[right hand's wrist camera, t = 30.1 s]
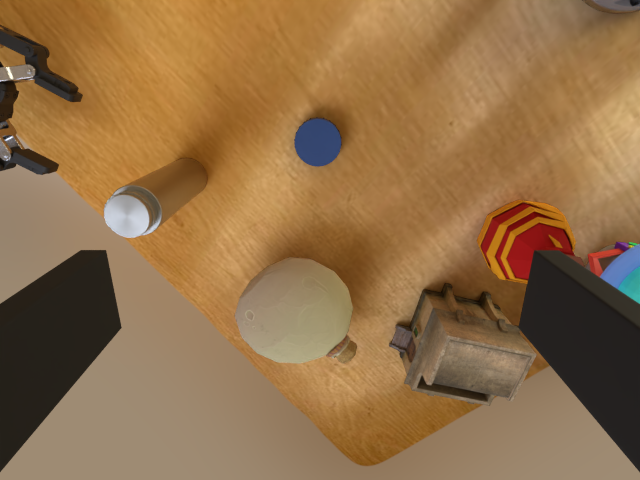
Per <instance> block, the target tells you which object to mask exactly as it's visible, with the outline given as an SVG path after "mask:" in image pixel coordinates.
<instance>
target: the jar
mask: <svg viewBox="0 0 640 480" xmlns="http://www.w3.org/2000/svg"><path fill="white" fill-rule="evenodd" d="M206 183H207V174H206V171H205V169H204V167H203V166H202V165H201V164H200V163H199V162H198V161H196V160H194V159H191V158H182V159H179V160H177V161H175V162H173V163H171V164H168V165H166V166H164V167H162V168H160V169H158V170H156V171H154V172H152V173H150V174H148V175H146V176H144V177H141V178H139V179H137V180H135V181H133V182H131V183H129V184H127V185H125V186H123V187H121V188H119V189H118V190H116V191H115V192H114V194H113V195H112V197H111V198H110V199H108V201H107V203H106V204H105V208H104V218H105V220H106V223H107V225H108V226H109V227H110V228H111V229H112V230H113V231H114V232H115V233H117V234H119V235H121V236H124V237H129V238H133V237H138V236H140V235H146V234H149V233H152V232H153V231H155V230H156V229H157V228H158V227H159V226H161V225H162V224H163V223H164V222H165V221H167V220H168V219H169V218H170V217H171V216H172V215H174V214H175V213H176V212H177V211H178V210H180V209H181V208H182V207H183V206H184V205H186V204H187V203H188V202H189V201H190V200H191V199H193V198H194V197H195V196H196V195H197V194H199V193H200V192H201V191H202V190H203V189H204V188H205V186H206Z"/></svg>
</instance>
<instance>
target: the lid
mask: <svg viewBox="0 0 640 480" xmlns="http://www.w3.org/2000/svg"><path fill="white" fill-rule="evenodd" d="M294 141H295V149H296V152H297V154H298V155H299V157H300V158H301V159H302V160H303V161H304V162H305V163H307V164H309V165H312V166H324V165H327V164H329V163H330V162H332V161H333V160H334V159H335V158H336V157H337V155H338V154H339V152H340V148H341V136H340V134H339V130H338V129H337V128H336V126H335V125H334V124H333V123H332V122H330V120H329V121H328V120H326V119H324V118H317V117H316V118H313V119H311V118H310V120H308V121H306V122H304V123H303V124H302V125H301V126H300V127H299V129H298V131H297V132H296V136H295V140H294Z"/></svg>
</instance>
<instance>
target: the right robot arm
mask: <svg viewBox="0 0 640 480" xmlns="http://www.w3.org/2000/svg"><path fill="white" fill-rule="evenodd" d="M583 1H584V2H585V3H586V4H588V5H589V6H591V7H593V8H595V9H597V10H599V11H603V12H607V13H617V14H618V13H628V12H633V11H637V10H640V0H583ZM120 329H121V323H120V318H119V313H118V308H117V303H116V298H115V293H114V288H113V283H112V278H111V273H110V268H109V263H108V258H107V253H106V250H81V251H79V252H78V253H76V254H75V255H73V256H72V257H70V258H69V259H67V260H66V261H64V262H63V263H61V264H60V265H58V266H57V267H55V268H54V269H52V270H51V271H49V272H47V273H46V274H44V275H43V276H41V277H40V278H38V279H37V280H35V281H34V282H32V283H31V284H29V285H28V286H26V287H25V288H23V289H22V290H20V291H19V292H17V293H16V294H14V295H13V296H11V297H10V298H8V299H7V300H5V301H4V302H2V303H1V304H0V472H1V470H2V469H3V468H4V467H5V466H6V465H7V463H8V462H9V461H10V460H11V459H12V457H13V456H14V455H15V454H16V453H17V451H18V450H19V449H20V448H21V447H22V445H23V444H24V443H25V442H26V441H27V440H28V438H29V437H30V436H31V435H32V434H33V432H34V431H35V430H36V429H37V428H38V426H39V425H40V424H41V423H42V422H43V420H44V419H45V418H46V417H47V416H48V415H49V413H50V412H51V411H52V410H53V409H54V407H55V406H56V405H57V404H58V403H59V401H60V400H61V399H62V398H63V397H64V395H65V394H66V393H67V392H68V391H69V390H70V388H71V387H72V386H73V385H74V384H75V382H76V381H77V380H78V379H79V378H80V376H81V375H82V374H83V373H84V372H85V371H86V369H87V368H88V367H89V366H90V365H91V363H92V362H93V361H94V360H95V359H96V357H97V356H98V355H99V354H100V353H101V351H102V350H103V349H104V348H105V347H106V346H107V344H108V343H109V342H110V341H111V340H112V338H113V337H114V336H115V335H116V334H117V332H118V331H119V330H120ZM519 329H520V330H521V331H522V332H523V334H524V335H525V336H526V337H527V338H528V340H529V341H530V342H531V343H532V344H533V346H534V347H535V348H536V349H537V350H538V351H539V353H540V354H541V355H542V356H543V357H544V359H545V360H546V361H547V362H548V363H549V365H550V366H551V367H552V368H553V369H554V371H555V372H556V373H557V374H558V375H559V376H560V378H561V379H562V380H563V381H564V382H565V384H566V385H567V386H568V387H569V388H570V390H571V391H572V392H573V393H574V394H575V395H576V397H577V398H578V399H579V400H580V401H581V403H582V404H583V405H584V406H585V407H586V409H587V410H588V411H589V412H590V413H591V414H592V416H593V417H594V418H595V419H596V420H597V422H598V423H599V424H600V425H601V426H602V428H603V429H604V430H605V431H606V432H607V434H608V435H609V436H610V437H611V438H612V440H613V441H614V442H615V443H616V444H617V445H618V447H619V448H620V449H621V450H622V451H623V453H624V454H625V455H626V456H627V457H628V458H629V460H630V461H631V462H632V463H633V464H634V466H635V467H636V468H637V469H638V470H639V472H640V304H639V303H638V302H636V301H635V300H633V299H632V298H630V297H629V296H627V295H626V294H624V293H623V292H621V291H620V290H618V289H617V288H615V287H614V286H612V285H611V284H609V283H608V282H606V281H605V280H603V279H602V278H600V277H599V276H597V275H596V274H594V273H593V272H591V271H589V270H588V269H586V268H585V267H583V266H582V265H580V264H579V263H577V262H576V261H574V260H573V259H571V258H570V257H568V256H567V255H565V254H564V253H562V252H561V251H559V250H534V253H533V258H532V263H531V268H530V273H529V278H528V283H527V288H526V293H525V298H524V303H523V308H522V313H521V318H520V323H519Z"/></svg>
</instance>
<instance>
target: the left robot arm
mask: <svg viewBox="0 0 640 480" xmlns="http://www.w3.org/2000/svg"><path fill="white" fill-rule="evenodd" d="M4 46H6V47H8V48H10V49H12V50H14V51H16V52H18V53H20V54H22V55H24V56H25V62H26V65H19V66H13V67H4V66H3V65H2V63H1V62H0V171H2V170H6V169H10V168H14V167H15V166H16V164H18V165H20V166H22V167H24V168H26V169H28V170H30V171H32V172H34V173H36V174H41V175H43V174H46V173H52V172H55V171H57V169H58V166H59V164H57V163H56V162H54V161H52V160H50V159H48V158H46V157H44V156H42V155H40V154H38V153H36V152H34V151H32V150H30V149H24V147H23V146H22V144H21V143H20V141H19V140H18V138H17V137H16V133H17V132H16V130H15V128H14V127H13V125H12V124H11V123H10V121H9V120H8V118H12V114H13V104H14V102H15V101H16V99H17V97H18V93H19V91H17V90H16V85H15V83H20V82H27V81H32V80H35V83H36V84H38V85H40V86H41V87H43V88H45V89H47V90H49V91H51V92H53V93H54V94H56V95H58V96H60V97H62V98H64V99H66V100H68V101H70V102H80V101H81V99H82V96H83V95H82V94H81V93H79V92H77V91H78V87H77V86H76V85H75V84H74V83H72V82H70V81H68V80H66V79H65V78H63V77H61V76H59V75H57V74H55V73H54V72H52V71H50V70H49V68H48V66H47V59H46V58H48V57H49V50H48V49H47V48H46V47H45V46H43V45H41V44H39V43H37V42H35V41H32V40H30V39H28V38H26V37H24V36H22V35H20V34H18V33H16V32H14V31H12V30H10V29H8V28H6V27H4V26H2V25H0V48H2V47H4Z"/></svg>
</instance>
